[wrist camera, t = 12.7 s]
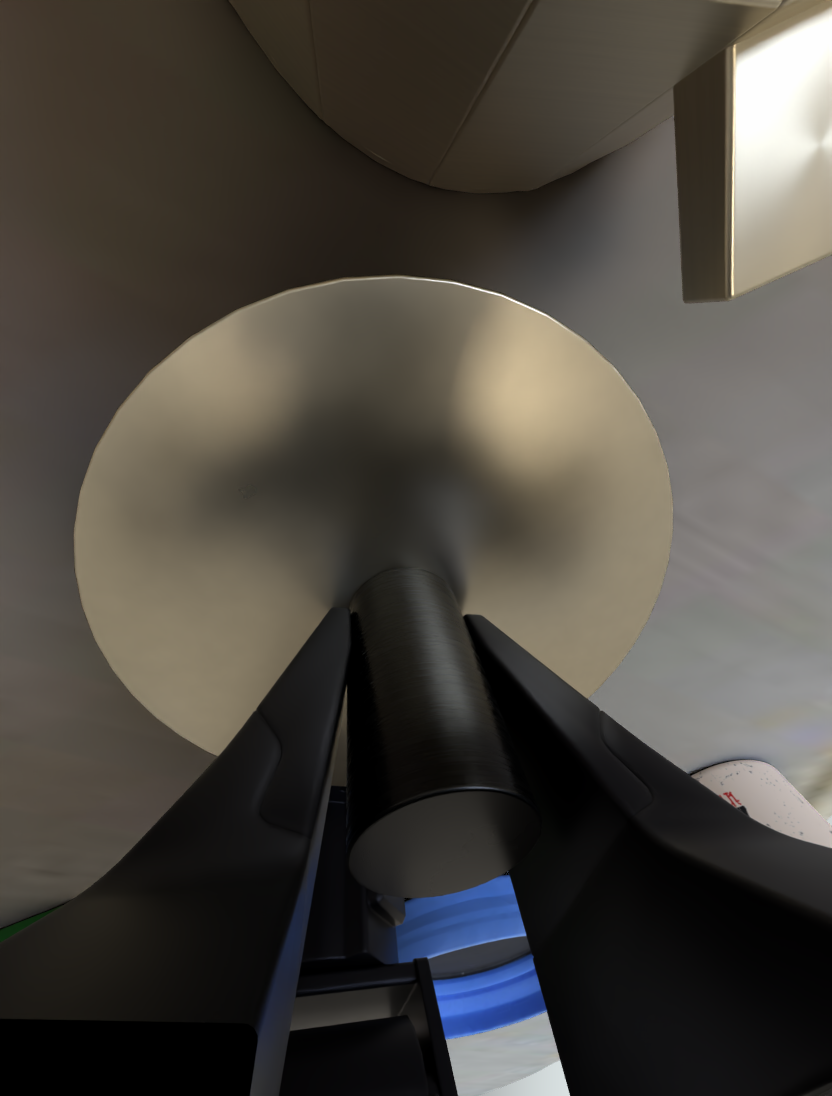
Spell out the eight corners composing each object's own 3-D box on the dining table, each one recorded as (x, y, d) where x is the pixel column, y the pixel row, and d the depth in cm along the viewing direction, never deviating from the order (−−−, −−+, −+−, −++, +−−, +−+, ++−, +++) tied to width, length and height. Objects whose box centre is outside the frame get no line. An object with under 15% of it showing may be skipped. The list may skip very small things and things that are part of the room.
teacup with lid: (691, 751, 23) (955, 1080, 13) (807, 755, 25) (1110, 1039, 15) (599, 863, 28) (737, 1160, 18) (702, 858, 31) (876, 1121, 21)
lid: (298, 803, 14) (269, 1083, 9) (-66, 464, 8) (-967, 766, 2) (663, 658, 13) (867, 874, 8) (604, 139, 7) (1462, -484, 2)
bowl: (550, 832, 25) (578, 903, 22) (604, 924, 34) (629, 984, 31) (296, 933, 27) (290, 1012, 24) (411, 996, 36) (417, 1060, 33)
